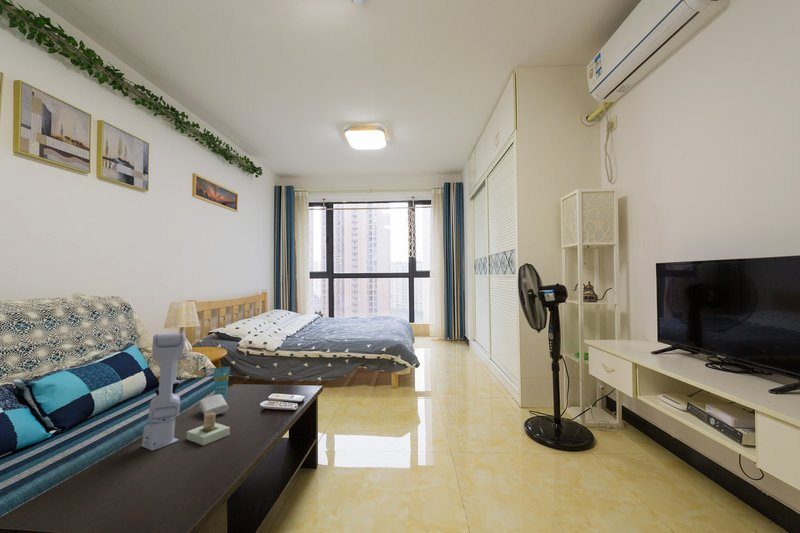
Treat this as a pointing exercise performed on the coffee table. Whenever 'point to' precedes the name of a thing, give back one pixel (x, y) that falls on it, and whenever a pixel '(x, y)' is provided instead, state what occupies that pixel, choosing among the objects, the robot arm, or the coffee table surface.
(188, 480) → the coffee table surface
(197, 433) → the socket
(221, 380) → the tube
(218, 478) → the coffee table surface
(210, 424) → the peg
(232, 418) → the coffee table surface
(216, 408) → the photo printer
